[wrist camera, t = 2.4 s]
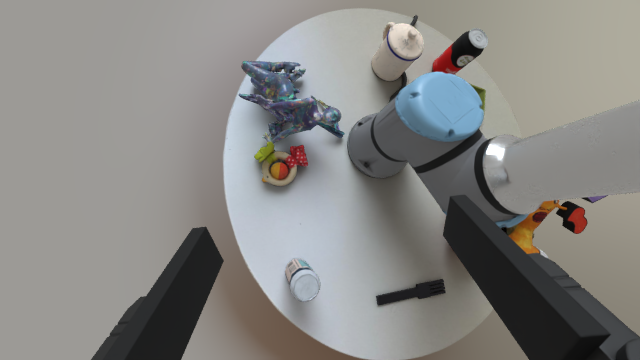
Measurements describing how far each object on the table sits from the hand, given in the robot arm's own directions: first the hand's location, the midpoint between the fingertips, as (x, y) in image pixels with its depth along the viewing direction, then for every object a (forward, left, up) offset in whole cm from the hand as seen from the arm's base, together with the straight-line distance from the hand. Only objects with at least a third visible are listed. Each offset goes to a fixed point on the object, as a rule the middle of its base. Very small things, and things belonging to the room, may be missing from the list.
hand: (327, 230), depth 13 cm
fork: (+19, +27, -36) cm, 49 cm away
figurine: (-15, +5, -29) cm, 33 cm away
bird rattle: (-7, -1, -35) cm, 36 cm away
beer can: (+10, +2, -36) cm, 38 cm away
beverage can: (-36, +47, -36) cm, 69 cm away
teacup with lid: (-38, +30, -36) cm, 60 cm away
